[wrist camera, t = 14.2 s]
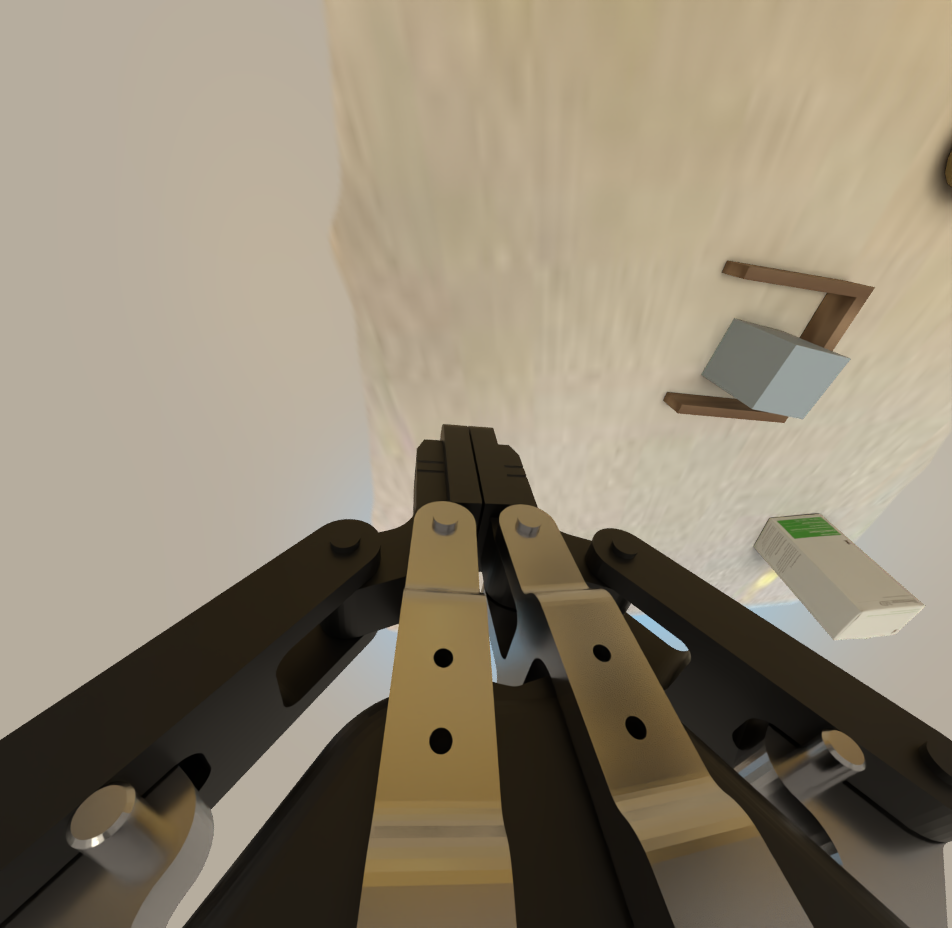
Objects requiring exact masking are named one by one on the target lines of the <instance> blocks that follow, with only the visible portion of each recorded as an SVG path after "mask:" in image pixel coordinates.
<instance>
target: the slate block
mask: <svg viewBox="0 0 952 928" xmlns="http://www.w3.org/2000/svg"><path fill="white" fill-rule="evenodd" d="M849 360H850V358H848V357H845V356H843V355H840V354H838V353H835V352H833V351H830V350H828V349H825V348H823V347H820V346H818V345H815V344H813V343H811V342H808V341H806V340H803V339H801V338H798V337H796V336H793V335H791V334H788V333H786V332H783V331H780V330H777V329H773V328H769V327H765V326H761V325H758V324H754V323H750V322H746V321H742V320H738V319H735V318H734V320H733V321H732V323H731V325H730V327H729V328H728V330H727V332H726V333H725V335H724V337H723V338H722V340H721V342H720V344H719V345H718V347H717V349H716V350H715V352H714V354H713V356H712V357H711V359H710V361H709V362H708V364H707V366H706V367H705V369H704V371H703V373H702V374H701V375H702V376H704V377H705V378H707V379H708V380H710V381H711V382H713V383H714V384H716V385H717V386H719V387H720V388H722V389H723V390H725V391H726V392H727V393H729V394H730V395H732V396H733V397H735V398H736V399H738V400H739V401H741V402H742V403H744V404H745V405H747V406H748V407H750V408H751V409H754V410H759V411H764V412H769V413H774V414H779V415H784V416H789V417H794V418H799V419H804V418H805V416H806V415H807V414H808V412H809V411H810V410H811V409H812V407H813V406H814V405H815V404H816V402H817V401H818V400H819V399H820V397H821V396H822V395H823V393H824V392H825V391H826V390H827V388H828V387H829V386H830V385H831V383H832V382H833V381H834V379H835V378H836V377H837V376H838V374H839V373H840V372H841V371H842V369H843V368H844V367H845V366H846V364H847V363H848V362H849Z"/></svg>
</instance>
